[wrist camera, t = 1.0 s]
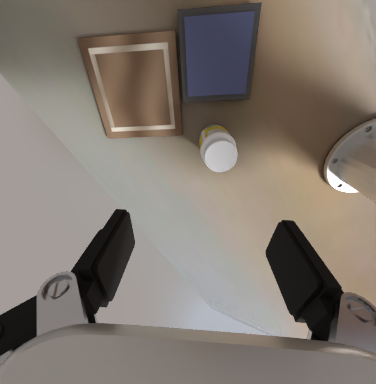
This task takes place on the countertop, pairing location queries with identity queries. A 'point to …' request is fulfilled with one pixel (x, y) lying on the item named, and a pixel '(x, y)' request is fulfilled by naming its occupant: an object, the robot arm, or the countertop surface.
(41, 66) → the countertop surface
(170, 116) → the marked board
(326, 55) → the countertop surface
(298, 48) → the countertop surface
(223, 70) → the ink pad
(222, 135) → the supplement bottle
